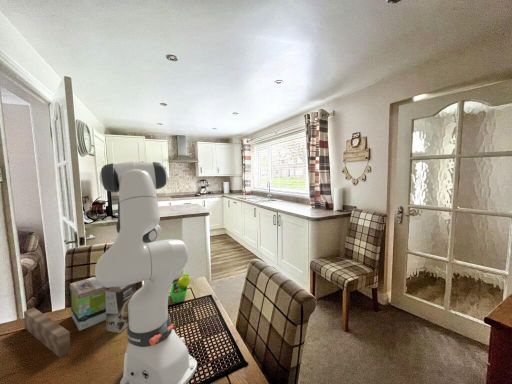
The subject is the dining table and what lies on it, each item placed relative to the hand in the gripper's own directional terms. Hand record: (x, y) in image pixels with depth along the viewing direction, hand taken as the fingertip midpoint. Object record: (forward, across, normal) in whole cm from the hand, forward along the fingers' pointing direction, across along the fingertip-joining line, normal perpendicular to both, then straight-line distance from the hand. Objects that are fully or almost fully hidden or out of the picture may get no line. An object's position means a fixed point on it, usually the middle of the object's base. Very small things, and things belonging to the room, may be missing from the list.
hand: (119, 278), depth 104 cm
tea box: (+18, 0, -1) cm, 18 cm away
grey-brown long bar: (+28, 0, -11) cm, 30 cm away
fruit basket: (-4, +22, +20) cm, 30 cm away
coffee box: (+15, +17, +2) cm, 23 cm away
